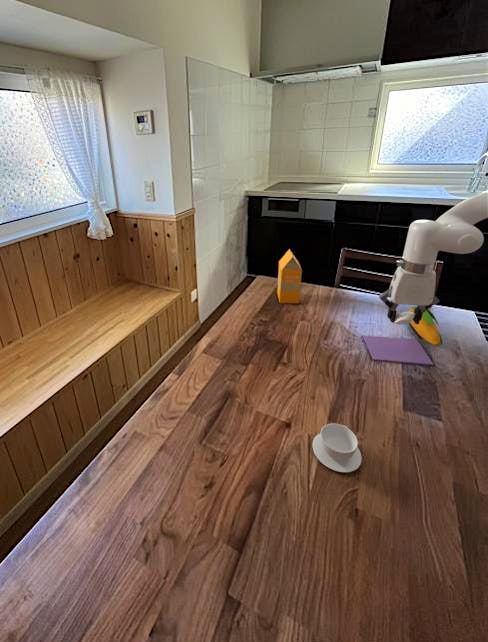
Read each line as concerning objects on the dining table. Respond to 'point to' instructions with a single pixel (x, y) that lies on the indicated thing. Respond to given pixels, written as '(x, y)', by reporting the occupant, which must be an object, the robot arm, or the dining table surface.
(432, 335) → the corn
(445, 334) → the dining table surface
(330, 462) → the teacup
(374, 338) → the cloth
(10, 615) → the dining table surface
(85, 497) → the dining table surface
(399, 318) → the dumpling
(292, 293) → the orange juice
